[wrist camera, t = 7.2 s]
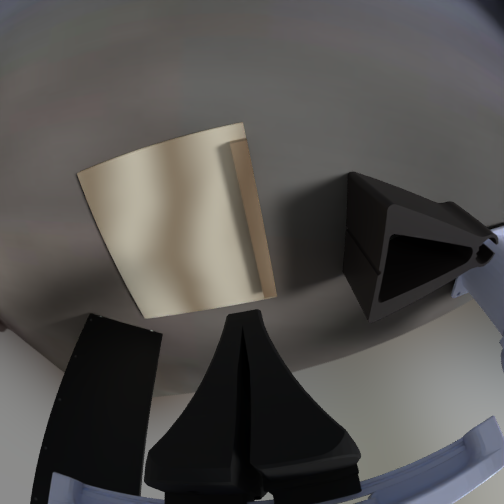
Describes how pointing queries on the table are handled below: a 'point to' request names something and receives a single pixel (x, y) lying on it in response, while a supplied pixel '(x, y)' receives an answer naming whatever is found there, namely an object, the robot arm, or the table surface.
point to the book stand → (184, 222)
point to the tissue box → (101, 410)
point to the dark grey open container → (405, 245)
